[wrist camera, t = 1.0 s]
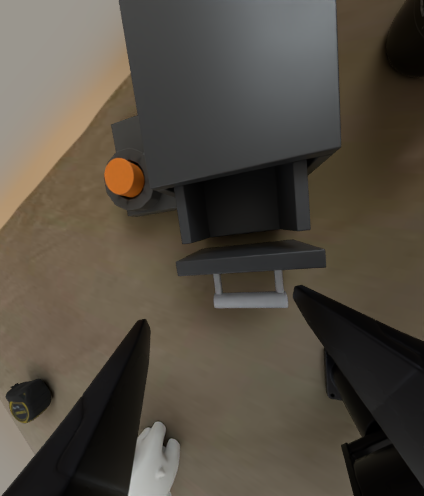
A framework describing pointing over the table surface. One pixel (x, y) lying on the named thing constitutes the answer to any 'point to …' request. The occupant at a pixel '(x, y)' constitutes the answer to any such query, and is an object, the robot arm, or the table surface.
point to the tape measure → (28, 400)
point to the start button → (124, 177)
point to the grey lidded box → (232, 85)
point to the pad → (132, 151)
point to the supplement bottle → (407, 39)
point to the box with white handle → (248, 229)
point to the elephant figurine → (154, 463)
